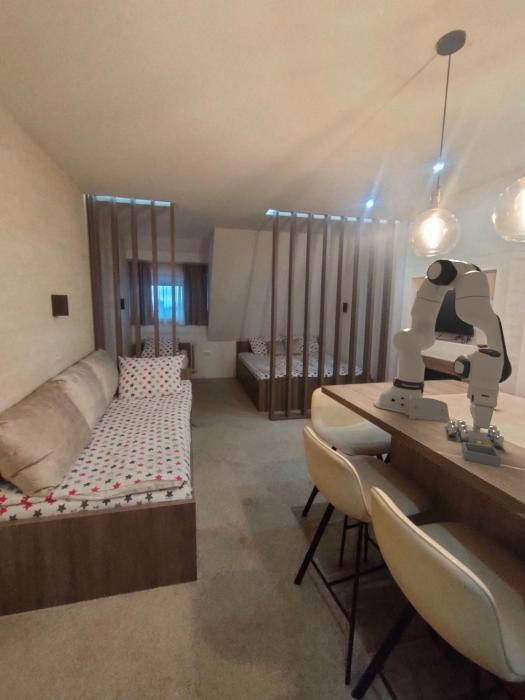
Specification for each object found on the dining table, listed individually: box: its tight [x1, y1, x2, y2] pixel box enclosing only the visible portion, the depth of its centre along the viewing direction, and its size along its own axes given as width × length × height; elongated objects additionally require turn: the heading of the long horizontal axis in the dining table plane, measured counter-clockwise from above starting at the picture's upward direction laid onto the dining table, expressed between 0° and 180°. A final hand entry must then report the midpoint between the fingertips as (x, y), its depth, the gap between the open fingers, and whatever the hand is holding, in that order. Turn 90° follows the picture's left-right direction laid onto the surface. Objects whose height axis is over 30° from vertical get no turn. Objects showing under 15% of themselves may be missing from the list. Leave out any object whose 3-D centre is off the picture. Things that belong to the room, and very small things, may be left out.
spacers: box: [446, 419, 505, 449], centre depth 116 cm, size 16×14×4 cm
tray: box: [461, 442, 501, 468], centre depth 101 cm, size 9×8×3 cm
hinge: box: [406, 397, 451, 423], centre depth 138 cm, size 17×5×10 cm, turn 74°
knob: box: [475, 440, 491, 447], centre depth 106 cm, size 4×4×3 cm
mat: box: [444, 425, 506, 452], centre depth 117 cm, size 17×16×1 cm
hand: (476, 431), depth 112 cm, fingers closed
